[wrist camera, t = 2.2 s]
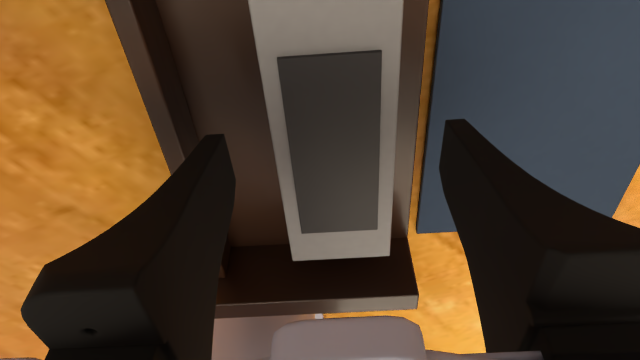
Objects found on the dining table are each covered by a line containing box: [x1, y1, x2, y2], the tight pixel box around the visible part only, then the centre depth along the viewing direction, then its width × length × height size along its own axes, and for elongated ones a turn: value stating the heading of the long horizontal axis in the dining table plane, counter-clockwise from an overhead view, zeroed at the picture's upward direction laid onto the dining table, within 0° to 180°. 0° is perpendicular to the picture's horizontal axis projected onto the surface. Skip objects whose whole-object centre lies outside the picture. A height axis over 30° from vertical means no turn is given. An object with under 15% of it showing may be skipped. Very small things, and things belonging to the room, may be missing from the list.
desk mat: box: [416, 0, 640, 234], centre depth 20 cm, size 20×11×1 cm, turn 4°
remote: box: [248, 0, 404, 261], centre depth 17 cm, size 14×4×3 cm, turn 4°
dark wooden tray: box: [105, 0, 429, 319], centre depth 17 cm, size 20×10×6 cm, turn 4°
